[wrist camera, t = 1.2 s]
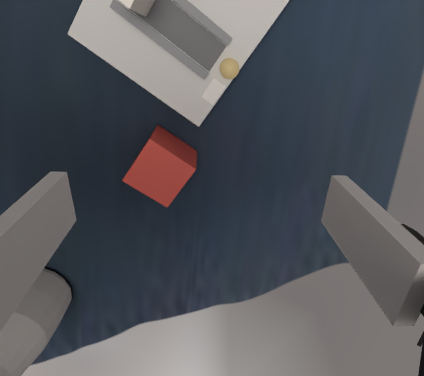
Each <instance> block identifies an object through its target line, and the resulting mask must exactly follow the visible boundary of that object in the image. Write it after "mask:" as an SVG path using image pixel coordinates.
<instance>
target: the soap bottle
mask: <svg viewBox="0 0 424 376" xmlns="http://www.w3.org/2000/svg"><path fill="white" fill-rule="evenodd" d="M71 298H72V295H71V288H70V287H69V285H68V284H67V282H66V281H65V279H64V278H62V277H61V276H60V275H58V274H57V273H55V272H53V271H50V270H48V269H45V268H44V269H43V270H42V272H41V273H40V274H39V276H38V277H37V279H36V280H35V282H34V283H33V285H32V286H31V288H30V289H29V291H28V292H27V294H26V295H25V296H24V298H23V299H22V301H21V302H20V304H19V305H18V307H17V308H16V310H15V311H14V313H13V314H12V316H11V317H10V318H9V320H8V321H7V323H6V324H5V326H4V327H3V329H2V330H1V332H0V376H21V375H22V374H23V373H24V371H25V370H26V369H27V368H28V367H29V366H30V365H31V363H32V362H33V361H34V360H35V359H36V358H37V357H38V355H39V354H40V353H41V352H42V351H43V350H44V348H45V347H46V345H47V343H48V342H49V340H50V338H51V337H52V335H53V333H54V332H55V330H56V329H57V327H58V325H59V323H60V321H61V320H62V318H63V316H64V314H65V312H66V310H67V308H68V306H69V304H70V302H71Z"/></svg>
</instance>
